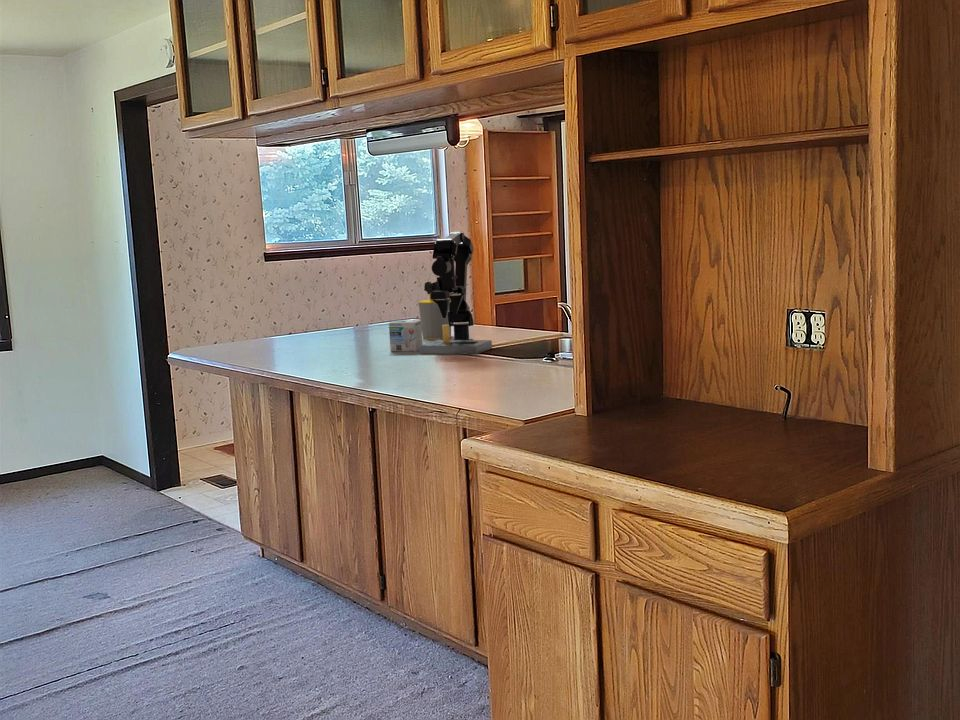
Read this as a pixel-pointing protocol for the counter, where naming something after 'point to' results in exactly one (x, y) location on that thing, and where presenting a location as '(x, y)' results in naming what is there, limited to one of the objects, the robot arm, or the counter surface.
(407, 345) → the light bulb box
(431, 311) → the soap bottle
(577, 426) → the counter surface
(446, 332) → the headed peg
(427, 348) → the keyhole plate
